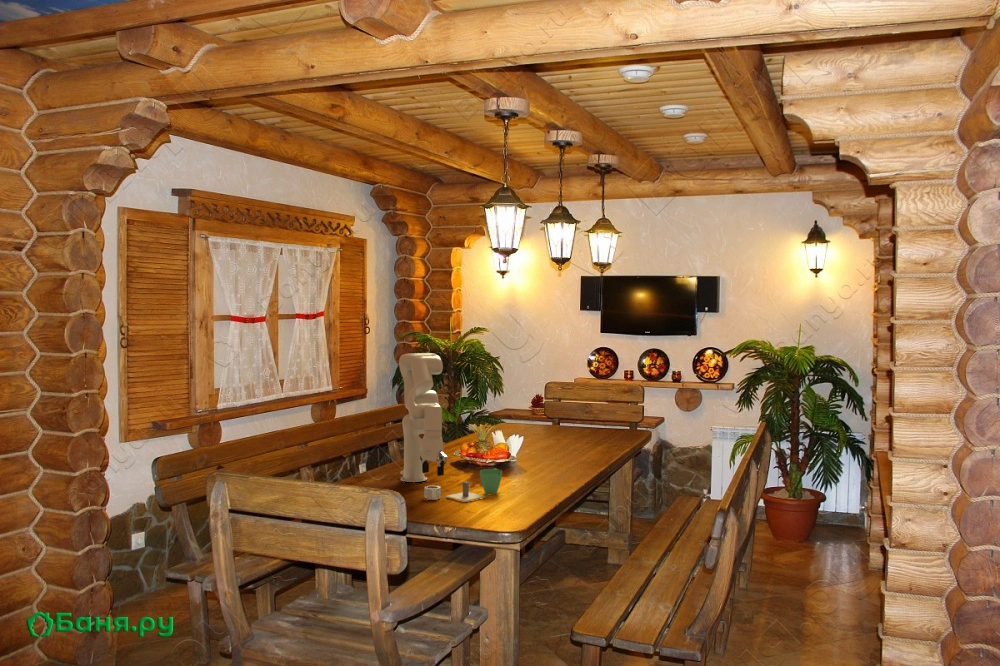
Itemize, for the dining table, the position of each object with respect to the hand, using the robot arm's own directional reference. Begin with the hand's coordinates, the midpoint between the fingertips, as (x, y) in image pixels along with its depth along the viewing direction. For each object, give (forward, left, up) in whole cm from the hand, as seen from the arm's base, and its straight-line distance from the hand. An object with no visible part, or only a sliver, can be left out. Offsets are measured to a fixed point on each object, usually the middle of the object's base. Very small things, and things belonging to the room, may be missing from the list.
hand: (432, 474), depth 351 cm
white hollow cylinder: (-1, 0, -11) cm, 11 cm away
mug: (+8, +27, -11) cm, 31 cm away
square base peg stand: (+8, +11, -11) cm, 18 cm away
